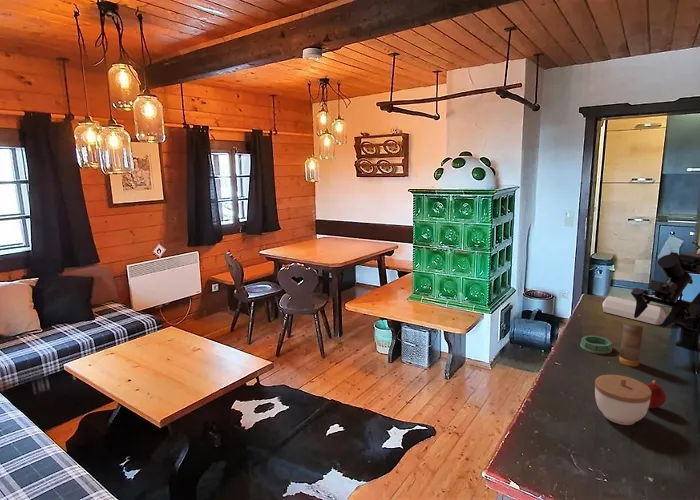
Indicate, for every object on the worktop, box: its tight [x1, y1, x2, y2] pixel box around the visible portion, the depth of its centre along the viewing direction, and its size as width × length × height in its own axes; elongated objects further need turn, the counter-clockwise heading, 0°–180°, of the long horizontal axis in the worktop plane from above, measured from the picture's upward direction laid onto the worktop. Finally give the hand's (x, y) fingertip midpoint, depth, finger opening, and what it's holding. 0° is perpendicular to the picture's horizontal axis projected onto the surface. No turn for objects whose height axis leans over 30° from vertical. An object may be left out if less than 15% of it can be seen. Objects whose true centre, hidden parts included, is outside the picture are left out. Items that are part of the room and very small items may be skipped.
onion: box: [646, 379, 667, 409], centre depth 120 cm, size 6×6×8 cm
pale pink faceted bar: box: [602, 295, 667, 326], centre depth 187 cm, size 7×7×24 cm
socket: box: [579, 335, 613, 355], centre depth 158 cm, size 10×10×3 cm
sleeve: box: [618, 322, 644, 368], centre depth 146 cm, size 6×6×13 cm
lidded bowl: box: [594, 374, 652, 426], centre depth 116 cm, size 13×13×11 cm
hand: (648, 321), depth 147 cm, fingers open, 9 cm apart
